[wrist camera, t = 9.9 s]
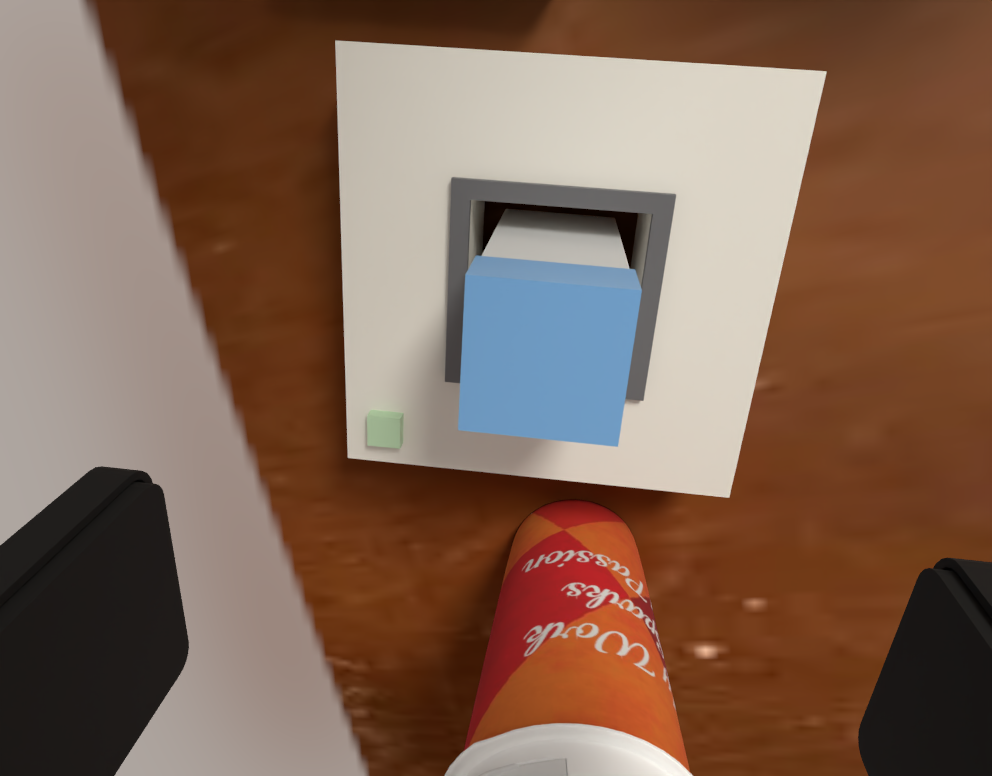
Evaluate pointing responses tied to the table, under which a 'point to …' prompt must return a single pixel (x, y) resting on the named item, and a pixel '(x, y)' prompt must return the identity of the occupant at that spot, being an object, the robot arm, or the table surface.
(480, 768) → the paper cup
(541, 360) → the plug
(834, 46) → the table surface
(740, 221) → the port panel
